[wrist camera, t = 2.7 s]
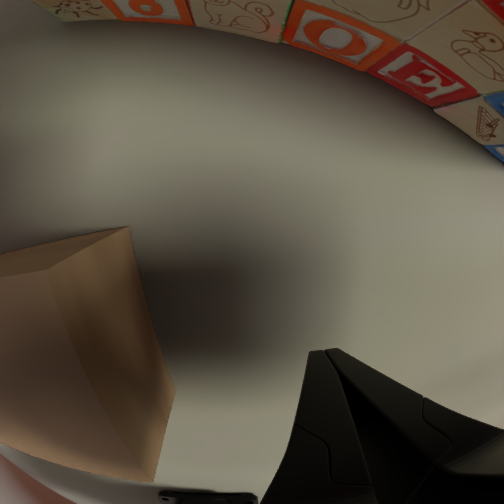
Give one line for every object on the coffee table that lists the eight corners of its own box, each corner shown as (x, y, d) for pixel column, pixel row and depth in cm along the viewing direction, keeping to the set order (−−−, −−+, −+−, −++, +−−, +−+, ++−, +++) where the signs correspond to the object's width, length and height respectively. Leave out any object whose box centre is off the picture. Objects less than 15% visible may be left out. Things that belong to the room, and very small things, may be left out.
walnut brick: (176, 387, 11) (153, 482, 6) (20, 378, 11) (-23, 431, 6) (131, 225, 9) (46, 269, 5) (-26, 260, 9) (-92, 294, 5)
